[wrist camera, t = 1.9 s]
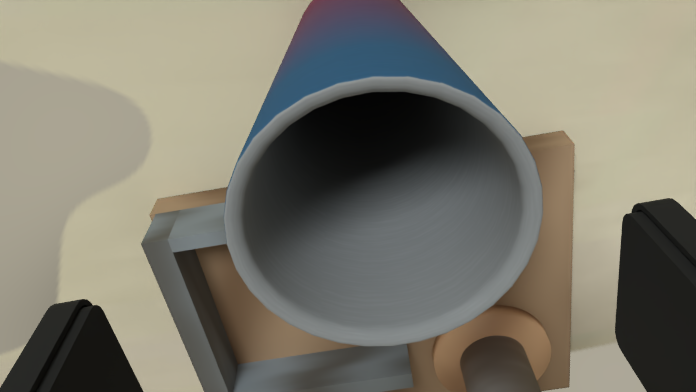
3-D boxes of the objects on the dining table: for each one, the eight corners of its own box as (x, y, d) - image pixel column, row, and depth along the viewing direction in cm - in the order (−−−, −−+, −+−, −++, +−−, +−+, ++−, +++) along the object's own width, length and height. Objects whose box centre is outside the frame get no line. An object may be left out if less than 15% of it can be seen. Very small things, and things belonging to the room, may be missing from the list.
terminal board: (562, 130, 28) (692, 281, 18) (560, 367, 36) (649, 563, 26) (157, 199, 29) (69, 376, 19) (241, 413, 37) (210, 618, 27)
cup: (321, -76, 23) (312, 9, 10) (464, 7, 25) (612, 169, 12) (251, 72, 26) (176, 285, 13) (384, 137, 28) (433, 381, 15)
